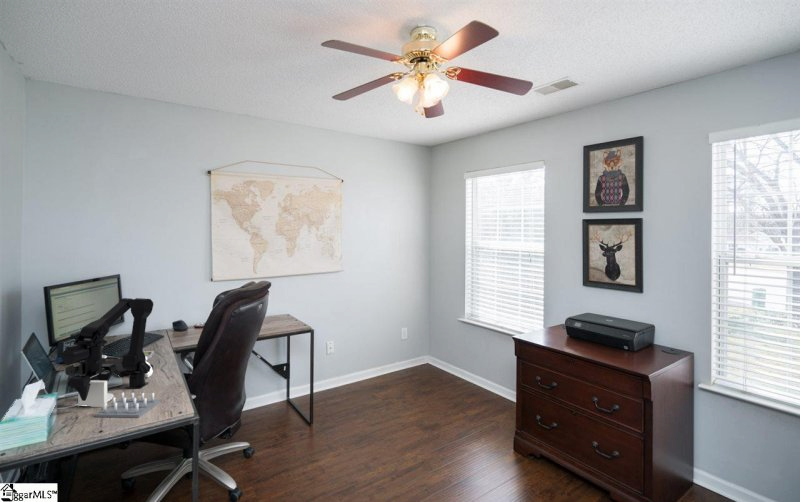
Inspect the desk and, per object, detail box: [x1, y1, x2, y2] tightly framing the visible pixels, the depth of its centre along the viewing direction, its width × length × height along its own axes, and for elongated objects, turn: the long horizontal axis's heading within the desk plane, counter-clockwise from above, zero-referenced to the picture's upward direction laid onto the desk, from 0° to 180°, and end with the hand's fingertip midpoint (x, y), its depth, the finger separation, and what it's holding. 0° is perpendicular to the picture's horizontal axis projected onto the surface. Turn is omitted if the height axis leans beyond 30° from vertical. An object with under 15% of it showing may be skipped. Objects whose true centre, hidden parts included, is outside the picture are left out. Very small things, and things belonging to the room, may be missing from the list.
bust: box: [145, 356, 154, 378], centre depth 191 cm, size 12×8×11 cm
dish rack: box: [95, 392, 162, 419], centre depth 155 cm, size 14×16×4 cm
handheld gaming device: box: [143, 350, 155, 360], centre depth 223 cm, size 9×1×15 cm
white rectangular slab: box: [77, 380, 108, 408], centre depth 157 cm, size 2×10×10 cm, turn 92°
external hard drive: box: [105, 357, 154, 378], centre depth 201 cm, size 14×23×3 cm, turn 53°
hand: (92, 395), depth 157 cm, fingers open, 9 cm apart
